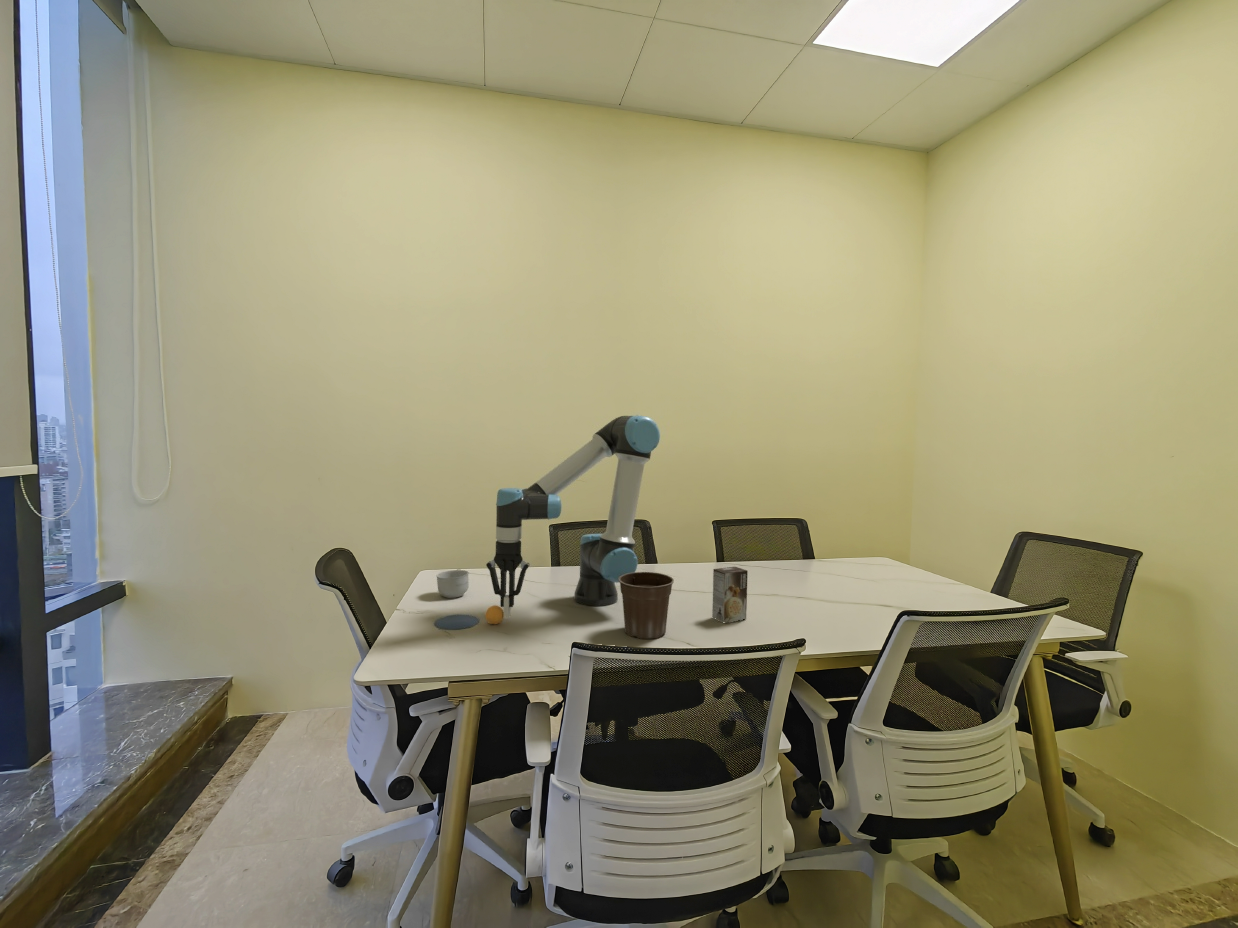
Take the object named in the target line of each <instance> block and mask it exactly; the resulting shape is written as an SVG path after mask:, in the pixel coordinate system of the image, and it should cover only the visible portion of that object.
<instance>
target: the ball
mask: <svg viewBox="0 0 1238 928" xmlns="http://www.w3.org/2000/svg"><path fill="white" fill-rule="evenodd" d="M484 617H485V620H486V621H487V622H488V624H490V625H497V624H500V623H502V621H503V617H504V609H503V607H501V606H499V605H492V606H489V607H488V608H487V609H486V611H485V614H484Z"/></svg>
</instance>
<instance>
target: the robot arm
mask: <svg viewBox="0 0 1238 928" xmlns="http://www.w3.org/2000/svg"><path fill="white" fill-rule="evenodd" d="M660 439H661V433H660V429H659V426H658V425H657V423H656V422H655V420H653V419H652V418H651V417H649V416H644V415H638V414H635V415H621V416H618V417H615V418H613V420H611V421H609V422H608V423H607V424H606V425H604V426H603V427H602V428H600V429H599V430H598V431H597V432H595V433H594V434H592V439H591V440H589V441H588V442H587V443H585V444H584V445H583V446H581V447H580V448H579V449H577V451H575V452H574V453H572V454H571V455H570V456H568V457H567V458H566V459H564V460H563V461H561V462H560V464H558V465H557V466H555V467H554V468H553V469H552V470H550V471H549V472H548V473H546V474H544V476H542V477H541V478H539V480H537V481H536V482H534V483H533V484H532V485H530V486H528V487H527V488H517V487H516V488H512V487H506V488H500V489H499V490H498V491H497V492H496V493H497V494H496V503H495V505H496V507H495V508H496V520H495V521H496V524H495V539H496V541H495V554H494V557H493V559H492V560H490V561H488V562H487V563H485V564H486V565H485V566H486V567H487V570H489V575H490V579H491V584H492V589H493V593H494V595H498V596H499V597H500V601H499V602H500V607H501V608H503V612H504V617H503V619H505V620H509V618H510V617H511V609H512V608H513V607H514V605H515V596H519V595H520V593H521V590H522V587H523V583H524V580H525V576H526V573H527V570H528V569H529V567H530V565H531V564H530V563H529V562H526V561H525V560H524V559H523V556H522V541H521V540H522V531H523V530H522V529H523V528H522V525H523V524H522V523H523V522H522V521H528V520H552V519H559V517H560V516H561V512H562V500H561V498H560V496H559V493H561V492H562V491H563V490H565V489H566V488H568V487H569V486H570V485H572V484H573V483H574V482H575V481H576V480H578V479H579V478H580V477H582V476H583V475H585V473H587V472H588V471H590V470H591V469H592V468H593V467H595V466H596V465H597V464H598V463H600V462H602V461H603V459H605V458H611V457H612V456H614V455H615V457H616V458H617V460H618V461H617V467H616V471H615V476H614V477H615V478H614V484H613V489H612V495H611V500H610V507H609V511H608V516H607V517H608V518H607V524H606V529H605V532H603V533H588V534H584V535H582V536H581V537H580V543H579V578H578V581H577V585H576V587H575V590H574V597H573V598H574V601H575V602H577V603H578V604H581V605H585V606H593V607H594V606H596V607H597V606H609V605H612V604H615V603H616V602H617V601H618V597H619V596H618V590H617V586H616V584H617V583H619V584H620V582H619V580H618V578H619V577H620V576H622V575H624V574H628V573H633V572H637V569H638V557H637V555H636V554H635V552H634V551H635V546H636V540H635V539H634V538H633V529H634V524H635V518H636V514H637V507H638V501H639V497H640V490H641V485H642V480H643V473H644V467H645V464H646V463H647V462H649V461H650V460H651V455H652V452H653V451H654V450H655V449H657V447H658V445H659V444H660ZM496 566H497V568H498V569H499V570H500V571H499V572H500V582H499V578H498V573H497V569H496ZM519 566H520V569H521V570H520V573H519V575H518V576H519V577H518V580H517V584H516V570H517V568H518V567H519ZM507 572H508V573H507ZM507 574H508V594H507ZM615 583H616V584H615ZM515 585H516V586H515ZM503 619H502V620H503Z"/></svg>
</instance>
